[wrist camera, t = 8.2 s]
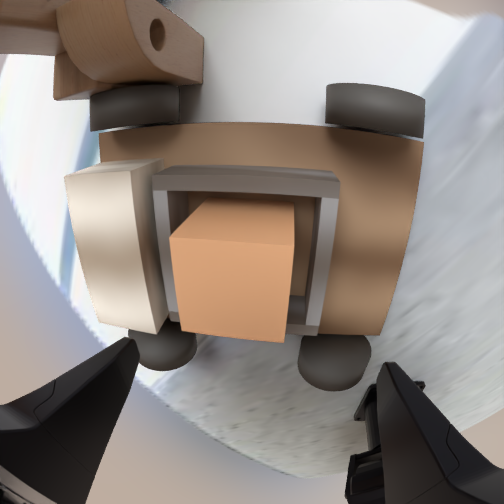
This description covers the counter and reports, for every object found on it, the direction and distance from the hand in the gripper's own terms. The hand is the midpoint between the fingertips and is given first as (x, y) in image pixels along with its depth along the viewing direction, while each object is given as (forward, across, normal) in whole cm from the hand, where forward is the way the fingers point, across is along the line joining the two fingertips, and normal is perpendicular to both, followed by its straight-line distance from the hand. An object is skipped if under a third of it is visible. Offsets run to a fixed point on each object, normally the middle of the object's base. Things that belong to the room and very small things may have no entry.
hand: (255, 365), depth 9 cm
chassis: (+11, +2, 0) cm, 11 cm away
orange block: (+9, +2, 0) cm, 10 cm away
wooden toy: (+11, +8, -18) cm, 22 cm away
